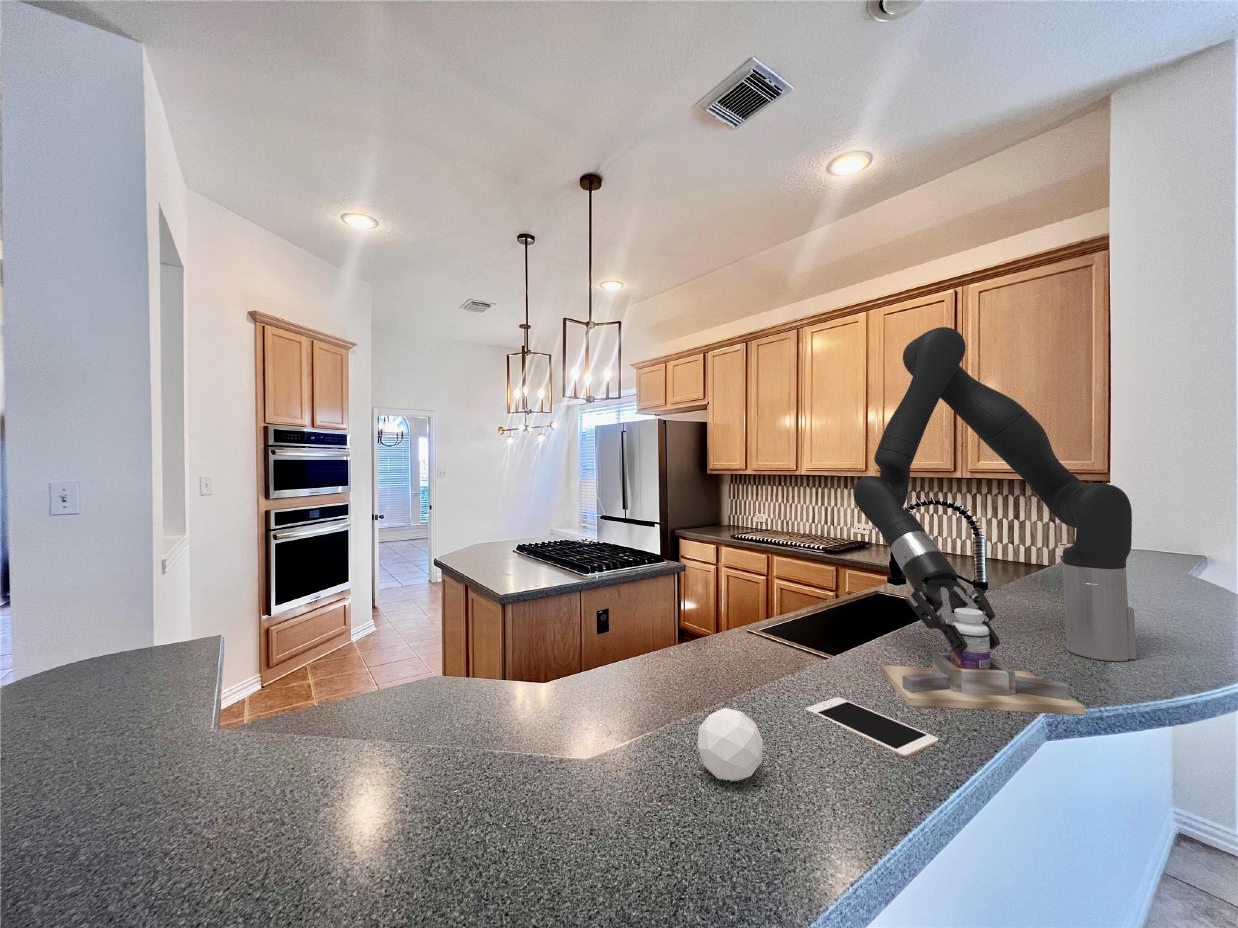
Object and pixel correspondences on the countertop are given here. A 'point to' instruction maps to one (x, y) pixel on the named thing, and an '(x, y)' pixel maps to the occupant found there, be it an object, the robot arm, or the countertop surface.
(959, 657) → the pill bottle
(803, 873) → the countertop surface
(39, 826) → the countertop surface
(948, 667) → the base
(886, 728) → the cell phone
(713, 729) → the ball
